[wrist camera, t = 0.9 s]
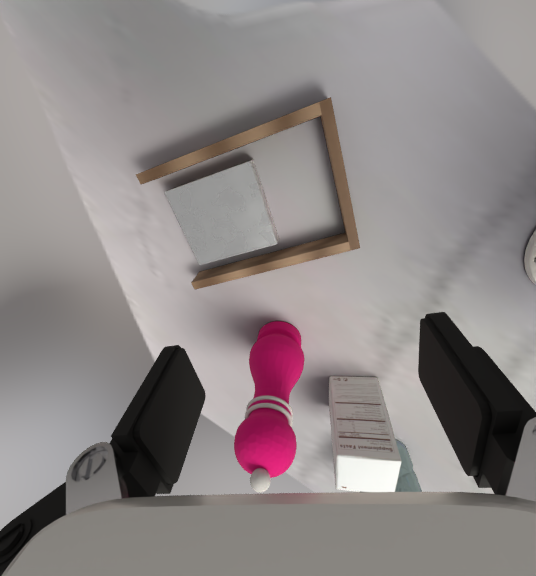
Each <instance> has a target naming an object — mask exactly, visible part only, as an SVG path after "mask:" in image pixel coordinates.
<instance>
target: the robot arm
mask: <svg viewBox="0 0 536 576" xmlns="http://www.w3.org/2000/svg"><path fill="white" fill-rule="evenodd" d="M524 264H525V270H526V272H527V275H528V277H529V278H530V280H531V281H532V282H533V283H534V284H535V285H536V230H535V231H534V233H533V235H532V236H531V238H530V240H529V242H528V245H527V248H526V251H525V257H524ZM418 373H419V378H420V381H421V383H422V385H423V387H424V389H425V391H426V393H427V396H428V398H429V400H430V402H431V404H432V406H433V408H434V410H435V412H436V414H437V416H438V418H439V420H440V422H441V424H442V426H443V428H444V431H445V433H446V435H447V437H448V439H449V441H450V443H451V445H452V447H453V449H454V451H455V453H456V455H457V457H458V459H459V461H460V463H461V466H462V468H463V470H464V471H465V473H466V474H467V475H468V476H473V477H474V479H475V481H476V483H477V485H478V487H479V488H492V490H493V492H494V494H485V493H466V492H346V493H279V494H229V495H186V496H185V495H183V496H155V494H156V493H157V494H162V493H163V494H169V493H170V492H171V490H172V487H173V484H174V483H176V482H177V481H178V478H179V476H180V473H181V470H182V467H183V464H184V461H185V458H186V455H187V452H188V449H189V446H190V443H191V440H192V437H193V434H194V431H195V428H196V425H197V422H198V419H199V416H200V413H201V410H202V407H203V404H204V401H205V391H204V389H203V387H202V384H201V382H200V380H199V378H198V376H197V374H196V372H195V370H194V368H193V366H192V364H191V362H190V359H189V357H188V355H187V353H186V351H185V349H183V348H181V347H180V346H179V345H176V346H168V347H164V348H163V350H162V351H161V353H160V355H159V356H158V358H157V360H156V361H155V363H154V365H153V367H152V368H151V370H150V372H149V373H148V375H147V376H146V378H145V380H144V382H143V383H142V385H141V386H140V388H139V390H138V392H137V393H136V395H135V397H134V398H133V400H132V402H131V403H130V405H129V407H128V408H127V410H126V412H125V413H124V415H123V417H122V418H121V420H120V422H119V423H118V425H117V427H116V429H115V430H114V432H113V434H112V435H111V437H112V440H111V442H110V443H107V442H100V443H97V444H94V445H92V446H90V447H89V448H87V449H86V450H85V451H83V452H82V453H81V454H80V455H79V456H78V457H77V458H76V459H75V460H74V462H73V463H72V465H71V466H70V468H69V470H68V472H67V476H66V482H65V483H64V484H62V485H61V486H59V487H58V488H56V489H55V490H54V491H52V492H51V493H50V494H48V495H47V496H45V497H44V498H43V499H41V500H40V501H38V502H37V503H36V504H34V505H33V506H31V507H30V508H29V509H27V510H26V511H25V512H23V513H22V514H20V515H19V516H18V517H16V518H15V519H13V520H12V521H11V522H10V523H9V524H7V525H6V526H5V527H4V528H3V529H2V530H1V531H0V576H536V412H535V411H534V410H533V408H532V407H531V406H530V405H529V404H528V402H527V401H526V400H525V399H524V398H523V396H522V395H521V394H520V393H519V392H518V390H517V389H516V388H515V387H514V386H513V384H512V383H511V382H510V381H509V380H508V378H507V377H506V376H505V375H504V374H503V372H502V371H501V370H500V369H499V368H498V366H497V365H496V364H495V363H494V362H493V360H492V359H491V358H490V357H489V356H488V354H487V353H486V352H485V351H484V350H483V349H482V348H480V347H478V346H477V347H473V346H472V345H471V344H470V343H469V341H468V340H467V339H466V338H465V336H464V335H463V334H462V333H461V331H460V330H459V329H458V328H457V326H456V325H455V324H454V323H453V321H452V320H451V319H450V318H449V316H448V315H447V314H446V313H445V312H439V313H431V314H426V316H425V318H424V319H421V320H420V342H419V368H418Z"/></svg>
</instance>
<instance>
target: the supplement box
mask: <svg viewBox="0 0 536 576" xmlns="http://www.w3.org/2000/svg"><path fill="white" fill-rule="evenodd" d="M329 411H330V422H331V435H332V447H333V460H334V473H335V485H336V489H340V490H348V491H360V492H395V489H396V485H397V480H398V475H399V471H400V466H401V458H400V454H399V451H398V447H397V444H396V440H395V437H394V433H393V429H392V425H391V422H390V418H389V415H388V411H387V408H386V404H385V401H384V397H383V394H382V390H381V387H380V383H379V380H378V378H376V377H348V376H330V377H329Z"/></svg>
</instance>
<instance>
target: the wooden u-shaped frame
mask: <svg viewBox="0 0 536 576" xmlns="http://www.w3.org/2000/svg"><path fill="white" fill-rule="evenodd" d="M320 116H321V120H322V125H323V130H324V135H325V139H326V144H327V149H328V153H329V158H330V163H331V167H332V172H333V177H334V181H335V186H336V191H337V195H338V200H339V205H340V209H341V214H342V219H343V223H344V228H345V233H342V234H339V235H335V236H331V237H327V238H324V239H320V240H316V241H312V242H309V243H305V244H301V245H298V246H294V247H290V248H286V249H283V250H279V251H275V252H271V253H268V254H264V255H260V256H257V257H253V258H249V259H245V260H242V261H238V262H234V263H230V264H227V265H223V266H219V267H216V268H212V269H208V270H204V271H201V272H199V273H198V274H197V276H196V277H195V278H194V280H193V281H192V282H191V283H192V285H193V287H194V289H199V288H203V287H207V286H211V285H215V284H219V283H223V282H227V281H231V280H235V279H239V278H243V277H247V276H251V275H255V274H259V273H263V272H267V271H271V270H275V269H279V268H283V267H287V266H291V265H295V264H299V263H303V262H307V261H311V260H315V259H319V258H323V257H327V256H331V255H335V254H338V253H342V252H346V251H350V250H354V249H358V248H360V245H359V240H358V234H357V229H356V224H355V219H354V214H353V209H352V204H351V198H350V193H349V188H348V183H347V178H346V173H345V167H344V162H343V157H342V152H341V147H340V142H339V137H338V131H337V126H336V121H335V116H334V111H333V106H332V100H331V97H330V98H328V99H325V100H323V101H320V102H318V103H315V104H313V105H310V106H308V107H305V108H303V109H300V110H298V111H295V112H292V113H290V114H287V115H285V116H282V117H280V118H277V119H275V120H272V121H270V122H267V123H265V124H262V125H260V126H257V127H255V128H252V129H250V130H247V131H245V132H242V133H240V134H237V135H235V136H232V137H229V138H227V139H224V140H222V141H219V142H217V143H214V144H212V145H209V146H207V147H204V148H202V149H199V150H197V151H194V152H192V153H189V154H187V155H184V156H182V157H179V158H177V159H174V160H172V161H169V162H166V163H164V164H161V165H159V166H156V167H154V168H151V169H149V170H146V171H144V172H141V173H139V174H136V176H137V178H138V180H139V182H140V184H144V183H147V182H149V181H152V180H155V179H158V178H160V177H163V176H166V175H168V174H171V173H173V172H176V171H179V170H181V169H184V168H186V167H189V166H192V165H194V164H197V163H200V162H202V161H205V160H207V159H210V158H213V157H215V156H218V155H220V154H223V153H226V152H228V151H231V150H233V149H236V148H239V147H241V146H244V145H247V144H249V143H252V142H254V141H257V140H260V139H262V138H265V137H267V136H270V135H273V134H275V133H278V132H280V131H283V130H286V129H288V128H291V127H294V126H296V125H299V124H301V123H304V122H307V121H309V120H312V119H314V118H317V117H320Z"/></svg>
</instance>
